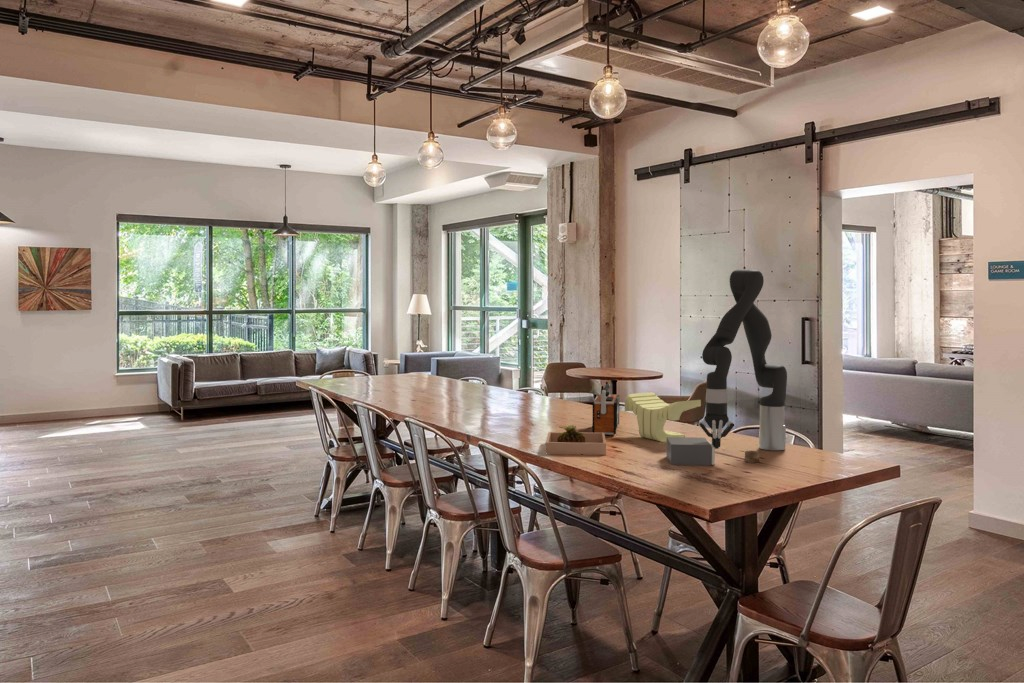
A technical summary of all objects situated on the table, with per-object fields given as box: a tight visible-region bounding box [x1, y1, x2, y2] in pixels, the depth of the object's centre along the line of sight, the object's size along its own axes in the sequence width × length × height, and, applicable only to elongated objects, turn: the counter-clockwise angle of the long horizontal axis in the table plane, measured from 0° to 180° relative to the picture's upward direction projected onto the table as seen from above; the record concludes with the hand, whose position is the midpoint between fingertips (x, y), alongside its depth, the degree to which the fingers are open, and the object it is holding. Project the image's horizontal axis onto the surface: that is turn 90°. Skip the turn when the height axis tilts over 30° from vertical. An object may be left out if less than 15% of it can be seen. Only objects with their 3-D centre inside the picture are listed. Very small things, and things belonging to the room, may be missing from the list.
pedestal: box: [744, 450, 760, 464], centre depth 273 cm, size 5×5×4 cm
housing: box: [666, 436, 712, 467], centre depth 274 cm, size 14×14×7 cm
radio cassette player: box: [591, 383, 620, 436], centre depth 338 cm, size 29×10×20 cm, turn 169°
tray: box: [706, 439, 716, 466], centre depth 274 cm, size 14×14×6 cm
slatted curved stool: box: [624, 391, 702, 443], centre depth 319 cm, size 30×16×18 cm, turn 30°
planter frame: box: [545, 431, 607, 456], centre depth 298 cm, size 23×23×4 cm
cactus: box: [557, 424, 585, 443], centre depth 297 cm, size 17×16×10 cm
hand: (716, 448), depth 273 cm, fingers closed
